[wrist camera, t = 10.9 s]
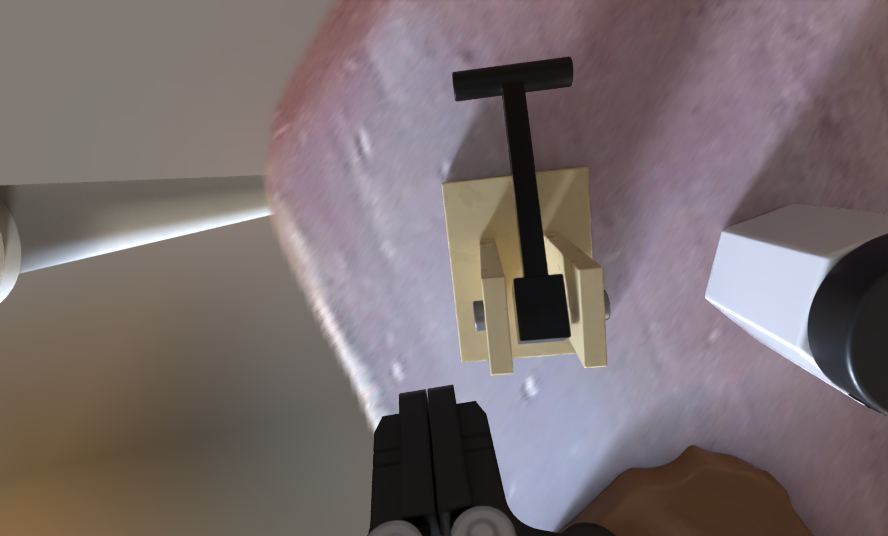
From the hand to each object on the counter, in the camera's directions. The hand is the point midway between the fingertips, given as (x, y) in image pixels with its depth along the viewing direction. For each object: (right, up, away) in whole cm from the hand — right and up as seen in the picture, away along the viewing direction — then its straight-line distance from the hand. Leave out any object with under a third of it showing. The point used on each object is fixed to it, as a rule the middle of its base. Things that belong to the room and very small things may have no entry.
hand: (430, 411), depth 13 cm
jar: (+21, +4, +18) cm, 28 cm away
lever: (+5, +7, +11) cm, 14 cm away
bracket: (+5, +4, +18) cm, 20 cm away
